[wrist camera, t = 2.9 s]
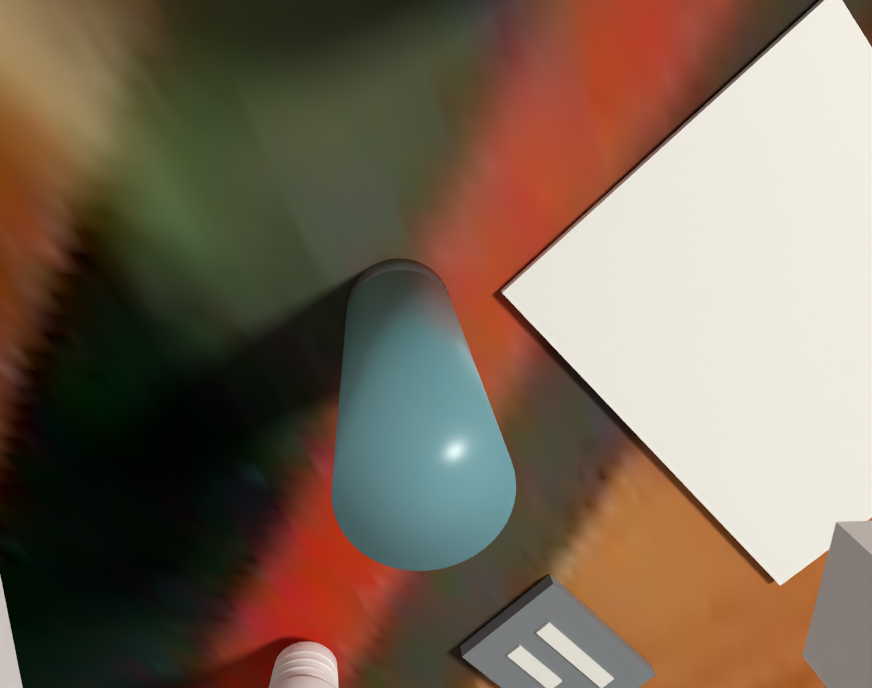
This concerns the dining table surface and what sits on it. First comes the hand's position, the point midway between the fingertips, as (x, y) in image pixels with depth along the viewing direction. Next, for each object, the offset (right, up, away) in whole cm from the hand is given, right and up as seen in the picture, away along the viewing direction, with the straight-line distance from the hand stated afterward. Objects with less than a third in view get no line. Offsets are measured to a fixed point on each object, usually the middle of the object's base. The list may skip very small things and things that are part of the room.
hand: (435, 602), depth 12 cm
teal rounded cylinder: (-1, +5, +14) cm, 15 cm away
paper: (+14, +5, +16) cm, 21 cm away
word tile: (+5, -9, +20) cm, 23 cm away
